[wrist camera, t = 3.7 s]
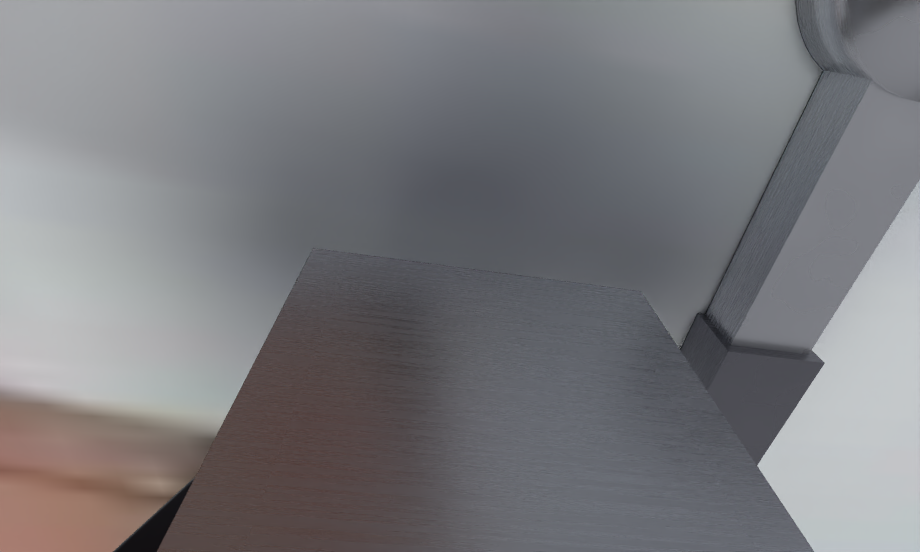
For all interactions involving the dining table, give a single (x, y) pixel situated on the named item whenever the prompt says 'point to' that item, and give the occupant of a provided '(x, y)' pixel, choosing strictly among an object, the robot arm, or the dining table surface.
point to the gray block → (473, 426)
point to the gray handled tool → (815, 215)
